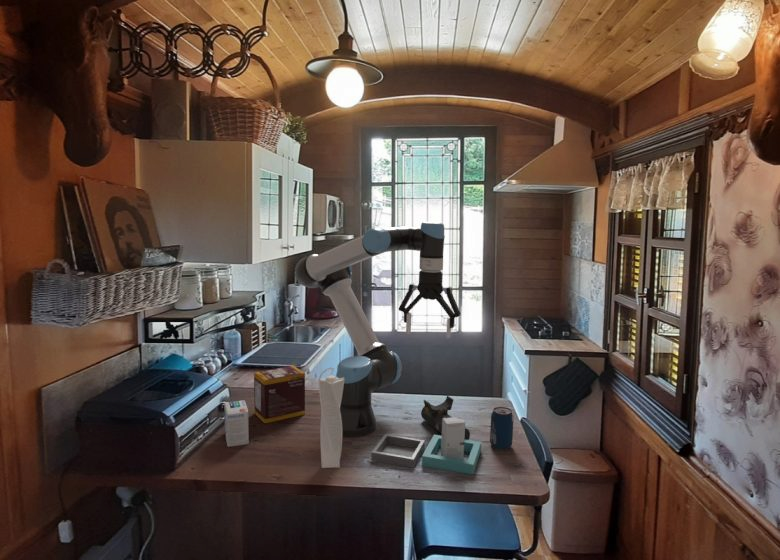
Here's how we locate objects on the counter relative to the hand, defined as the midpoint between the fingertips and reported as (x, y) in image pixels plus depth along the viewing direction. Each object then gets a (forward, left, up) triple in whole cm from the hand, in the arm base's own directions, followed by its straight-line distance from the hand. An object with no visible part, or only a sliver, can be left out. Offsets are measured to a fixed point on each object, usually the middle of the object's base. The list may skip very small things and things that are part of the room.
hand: (428, 334), depth 170 cm
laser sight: (+6, +2, -34) cm, 34 cm away
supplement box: (-53, -4, -34) cm, 63 cm away
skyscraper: (-21, -30, -34) cm, 50 cm away
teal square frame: (+12, -15, -33) cm, 39 cm away
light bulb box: (-56, -26, -34) cm, 70 cm away
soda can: (+25, -2, -34) cm, 42 cm away
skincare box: (+12, -15, -34) cm, 39 cm away
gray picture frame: (-4, -18, -33) cm, 38 cm away
